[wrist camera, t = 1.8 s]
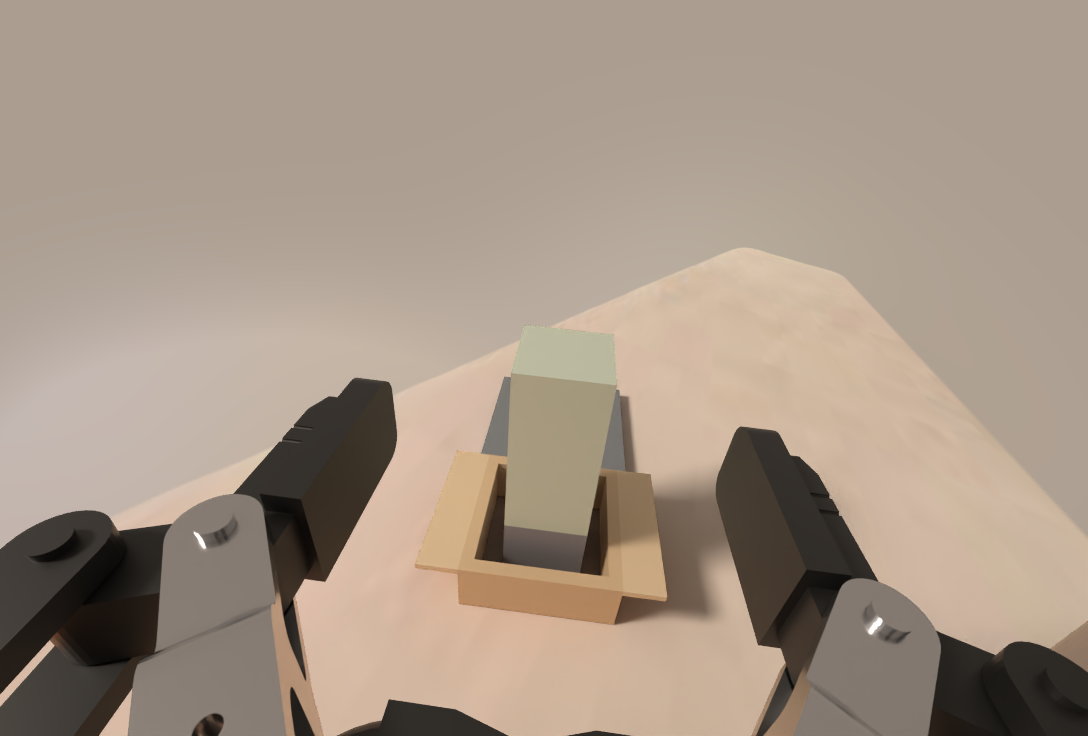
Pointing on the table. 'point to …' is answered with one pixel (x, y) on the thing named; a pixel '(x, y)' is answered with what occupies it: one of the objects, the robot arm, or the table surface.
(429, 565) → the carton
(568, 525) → the box
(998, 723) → the robot arm
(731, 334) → the table surface
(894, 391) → the table surface
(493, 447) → the slate mat
